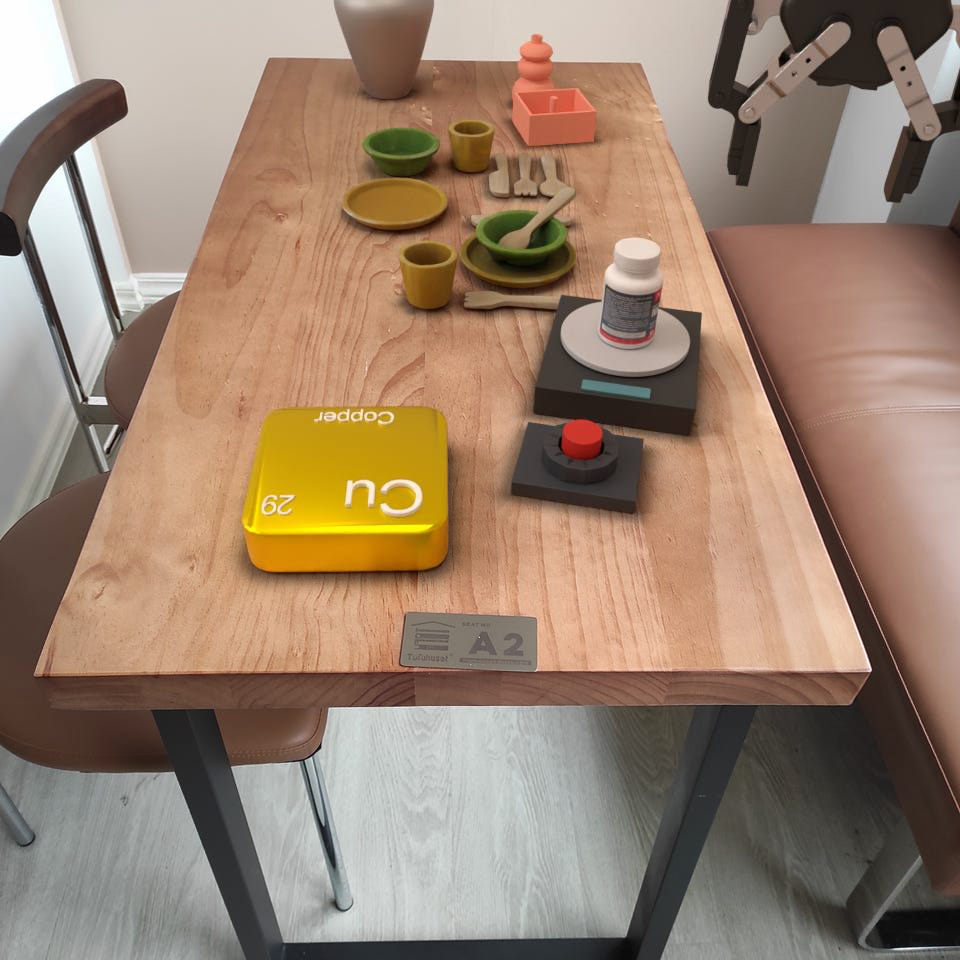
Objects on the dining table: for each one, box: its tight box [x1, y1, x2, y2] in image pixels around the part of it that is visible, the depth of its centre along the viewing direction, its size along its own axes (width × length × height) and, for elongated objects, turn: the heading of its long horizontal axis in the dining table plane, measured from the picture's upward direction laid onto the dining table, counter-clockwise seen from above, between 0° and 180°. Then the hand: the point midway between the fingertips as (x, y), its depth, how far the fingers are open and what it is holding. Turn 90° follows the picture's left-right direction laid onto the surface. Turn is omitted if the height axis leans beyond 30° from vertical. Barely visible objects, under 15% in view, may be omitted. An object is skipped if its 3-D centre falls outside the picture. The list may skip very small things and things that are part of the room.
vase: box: [333, 0, 435, 100], centre depth 134 cm, size 14×14×25 cm
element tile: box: [241, 405, 449, 573], centre depth 73 cm, size 15×15×5 cm
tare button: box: [561, 419, 603, 460], centre depth 75 cm, size 3×3×2 cm
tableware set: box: [340, 118, 577, 311], centre depth 108 cm, size 41×28×6 cm
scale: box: [532, 294, 703, 437], centre depth 87 cm, size 14×16×4 cm
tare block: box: [510, 421, 645, 514], centre depth 77 cm, size 10×8×3 cm
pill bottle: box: [598, 237, 664, 349], centre depth 83 cm, size 5×5×9 cm
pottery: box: [511, 33, 598, 147], centre depth 132 cm, size 18×10×10 cm, turn 13°
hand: (815, 189), depth 54 cm, fingers open, 8 cm apart
